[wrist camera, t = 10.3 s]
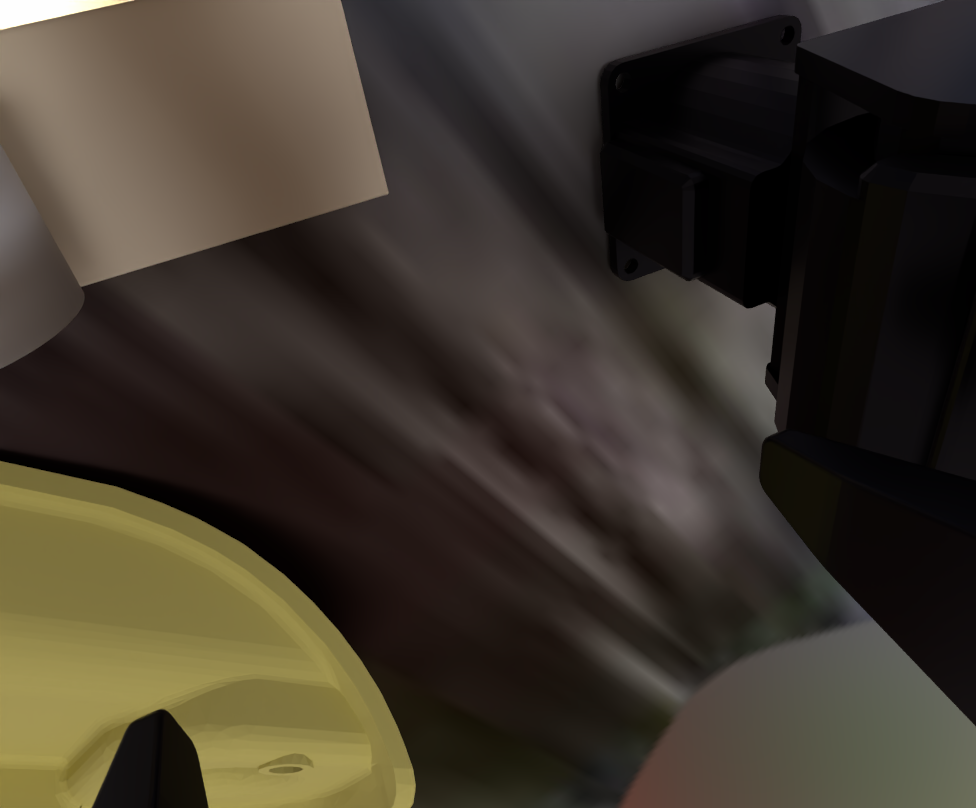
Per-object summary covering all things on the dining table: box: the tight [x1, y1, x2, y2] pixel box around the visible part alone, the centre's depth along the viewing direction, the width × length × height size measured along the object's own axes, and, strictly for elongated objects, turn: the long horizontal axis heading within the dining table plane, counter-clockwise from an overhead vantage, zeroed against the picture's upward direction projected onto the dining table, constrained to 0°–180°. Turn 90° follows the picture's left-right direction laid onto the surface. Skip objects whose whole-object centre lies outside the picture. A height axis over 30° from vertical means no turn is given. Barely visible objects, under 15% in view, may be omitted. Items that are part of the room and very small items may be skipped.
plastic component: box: [0, 461, 416, 808], centre depth 20 cm, size 20×7×10 cm
